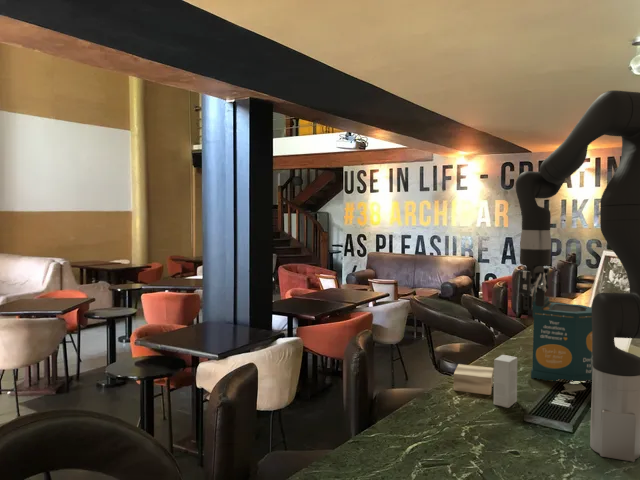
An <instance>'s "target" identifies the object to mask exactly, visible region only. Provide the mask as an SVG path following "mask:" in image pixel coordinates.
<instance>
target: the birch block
mask: <svg viewBox="0 0 640 480" xmlns="http://www.w3.org/2000/svg"><path fill="white" fill-rule="evenodd" d="M492 387H493V388H494V367H490V366H482V365H481V366H479V365H470V364H462V363H458V364H457V366H456V368H455V370H454V373H453V391H456V392H457V391H458V392H465V393H472V394H481V395H489V396H492V393H493V388H492Z"/></svg>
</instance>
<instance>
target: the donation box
mask: <svg viewBox="0 0 640 480" xmlns="http://www.w3.org/2000/svg"><path fill="white" fill-rule="evenodd" d="M535 301H536V290H534V292H533V306H532V316H531V317H532V318H533V328H532V329H533V332H532V339H533V340H532V368H531V370H530V379H534V378H537V379H536V380H540V379H544V380H543V381H547V380H553V381H556V380H558V379H566V380H573V381H584V380H592V372H593V354H592V306H586V305H582V304H572V303H562V302H551V301H550V297H549V296H546V295H545V305H544V306H543V307H541V306H536V305H535ZM553 381H552V382H553Z"/></svg>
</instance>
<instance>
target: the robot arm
mask: <svg viewBox="0 0 640 480" xmlns="http://www.w3.org/2000/svg"><path fill="white" fill-rule="evenodd" d="M603 136H609V137H621V156H620V161H619V164H618V167H617V169H616V170H615V172H614V173H613V176H612V177H611V179H610V180H609V182H608V184H607V185H606V187H605V189H604V190H603V192H602V194H601V198H600V203H599V204H600V206H599V207H600V209H599V210H600V211H599V214H600V217H599V218H600V221H599V222H600V223H599V224H600V231H601V234H602V236H603V238H604V240H605V241H606V242H607V244H608V246H609V247H610V248H611V250H612V251H613V253H614V254H615V256H616V257H617V258H618V260H619V261H620V263H621V265H622V266H623V268H624V270H625V273H626V276H627V280H628V286H629V293H627V292H599V293H597V294H596V295H595V296H594V298H593V301H592V304H591V308H592V354H593V372H592V383H591V399H590V400H591V401H590V402H591V405H590V406H591V407H590V434H589V435H590V437H589V440H590V442H589V446H590V448H591V449H592V450H593V451H594V452H596V453H597V454H599V456H600V457H603V458H610V459H616V460H621V461H627V462H636V459H639V458H640V357H639V356H638V355H636V354H633V353H631V352H629V351H625V350H622V349H621V348H618V346H616V342H615V338H616V339H617V338H618V339H636V340H637V339H640V92H639V91H627V90H608V91H605V92H603V93H601V94H600V95H599V96H598V97H597V98H596V99H595V100H594V101H593V102H592V103H591V104H590V106H589V107H588V108H587V110H586V111H585V112H584V113H583V114H582V116H581V118H580V119H579V120H578V122H577V123H576V124H575V126H574V127H573V129H572V130H571V132H570V133H569V134H568V136H567V137H566V138H565V139H564V140H563V142H562V143H561V144H560V145H559V146H558V147H557V148H556V149H554V151H552V152H551V153H550V154H549V155H548V156H547V157H545V159H544V160H543V161H542V163H541V164H540V165H539V171H532V170H531V171H523V172H521V173H520V174H519V175H518V177H517V179H516V182H515V192H516V197H517V201H518V204H519V209H520V211H521V233H520V245H519V263H520V265H521V266H525V270H523V269H522V270H520V271H519V285H518V288H519V289H518V292H519V294H521V295H522V309H523V310H524V311H533V292H534V290H536V301H535V305H536V306H541V307H543V306H544V305H545V296H546V292H547V290H549V288H550V271H549V270H550V268H549V267H548V266H550V265H551V262H552V261H551V260H552V258H551V257H552V256H551V253H552V237H551V236H552V235H551V219H552V218H551V217H552V214H551V211H550V210H549V209H548V208H546V207H542V206H539V204H538V203H537V202H538V201H537V200H536V199H549V198H552V197H554V196H556V195H558V192H559V191H560V190H561V188H562V186H563V184H564V183H565V181H566V180H567V179H568V178H570V177H571V176H572V175H573V174H574V173H575V172H576V171H577V170H580V168H581V167H582V166H583V164H584V163H585V162H586V161H585V160H586V158H587V156H588V155H587V154H588V147H589V146H590V144H592V143H593V142H594V141H595V140H597V139H599V138H601V137H603Z"/></svg>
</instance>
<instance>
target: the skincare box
mask: <svg viewBox="0 0 640 480" xmlns="http://www.w3.org/2000/svg"><path fill="white" fill-rule="evenodd" d="M493 368H494V374H493V405H495V406H499V407H503V408H511V407H512V406H513V405H514V404H516V403H517V401H518V357H517V356H513V355H512V356H511V355H506V354H500V355H499V356H498V357H496V358H495V359H493Z"/></svg>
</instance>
